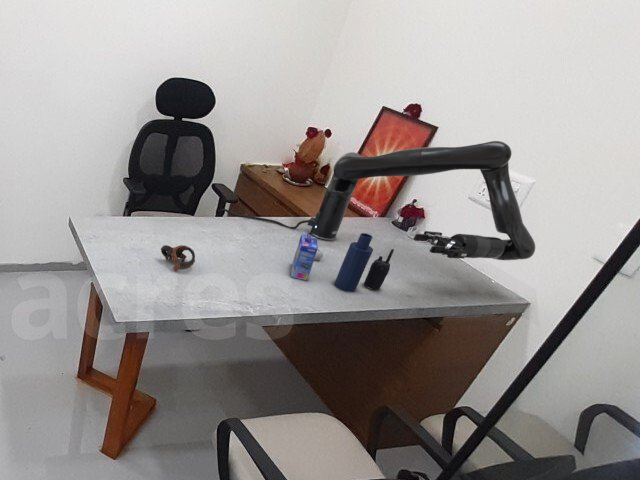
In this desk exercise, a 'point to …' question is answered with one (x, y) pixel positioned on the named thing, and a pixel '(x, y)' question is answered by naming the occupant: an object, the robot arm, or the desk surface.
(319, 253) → the smooth white sculpture
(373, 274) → the two-way radio
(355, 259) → the bottle
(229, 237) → the desk surface
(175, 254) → the brown curled piece
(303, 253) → the ink cartridge box
